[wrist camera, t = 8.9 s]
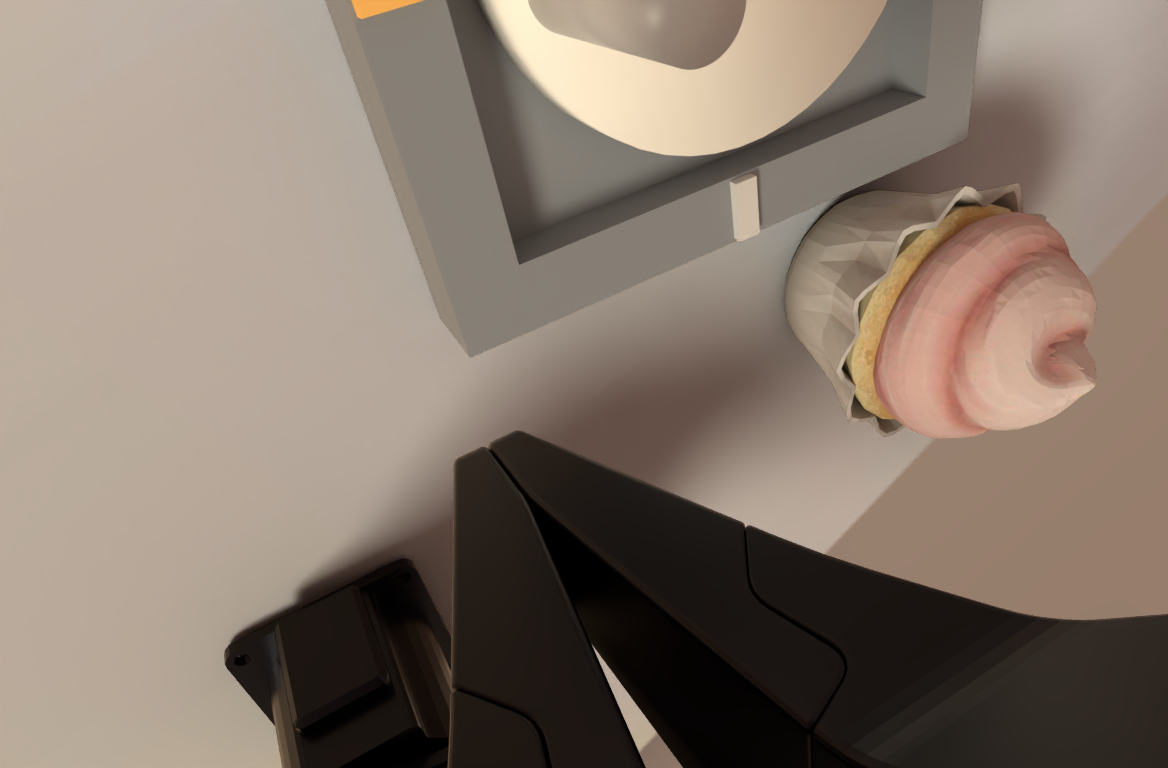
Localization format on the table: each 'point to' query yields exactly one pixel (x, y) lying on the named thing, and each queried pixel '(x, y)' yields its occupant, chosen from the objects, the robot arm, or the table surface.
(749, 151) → the dial panel
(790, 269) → the cupcake
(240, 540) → the table surface
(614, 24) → the dial
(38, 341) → the table surface
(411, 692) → the robot arm
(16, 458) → the table surface
